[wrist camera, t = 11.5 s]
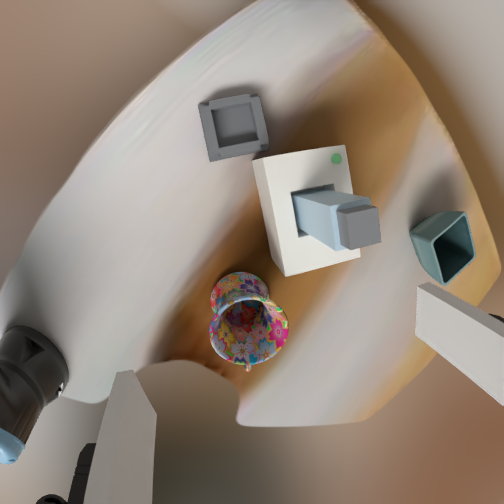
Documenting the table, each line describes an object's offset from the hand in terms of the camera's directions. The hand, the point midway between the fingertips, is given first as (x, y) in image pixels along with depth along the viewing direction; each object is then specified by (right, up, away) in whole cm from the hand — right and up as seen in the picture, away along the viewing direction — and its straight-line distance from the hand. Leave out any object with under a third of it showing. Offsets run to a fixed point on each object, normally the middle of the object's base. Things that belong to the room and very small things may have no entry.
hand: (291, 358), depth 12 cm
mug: (-4, -4, +33) cm, 33 cm away
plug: (+5, +10, +26) cm, 28 cm away
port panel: (+5, +11, +30) cm, 32 cm away
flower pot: (+28, +7, +35) cm, 45 cm away
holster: (-4, +21, +26) cm, 34 cm away
